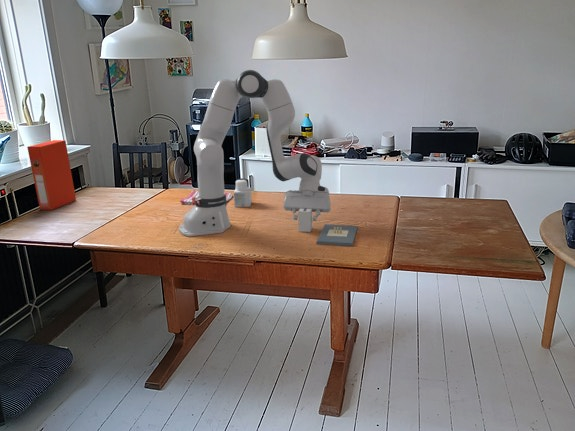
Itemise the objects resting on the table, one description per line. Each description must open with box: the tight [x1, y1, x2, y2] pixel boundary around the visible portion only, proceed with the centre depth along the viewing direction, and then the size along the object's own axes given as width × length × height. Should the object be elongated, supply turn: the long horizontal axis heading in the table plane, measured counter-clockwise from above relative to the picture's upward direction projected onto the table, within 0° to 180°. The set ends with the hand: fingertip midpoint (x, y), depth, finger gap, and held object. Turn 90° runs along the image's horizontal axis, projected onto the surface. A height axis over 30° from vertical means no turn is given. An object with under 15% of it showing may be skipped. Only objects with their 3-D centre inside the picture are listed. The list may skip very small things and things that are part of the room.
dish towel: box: [179, 189, 234, 206], centre depth 262 cm, size 17×23×4 cm
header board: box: [316, 223, 358, 247], centre depth 207 cm, size 20×14×4 cm
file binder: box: [26, 139, 77, 211], centre depth 257 cm, size 8×17×32 cm, turn 161°
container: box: [233, 177, 253, 208], centre depth 251 cm, size 8×8×13 cm
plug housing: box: [297, 208, 313, 233], centre depth 214 cm, size 4×5×9 cm
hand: (304, 219), depth 214 cm, fingers open, 7 cm apart
